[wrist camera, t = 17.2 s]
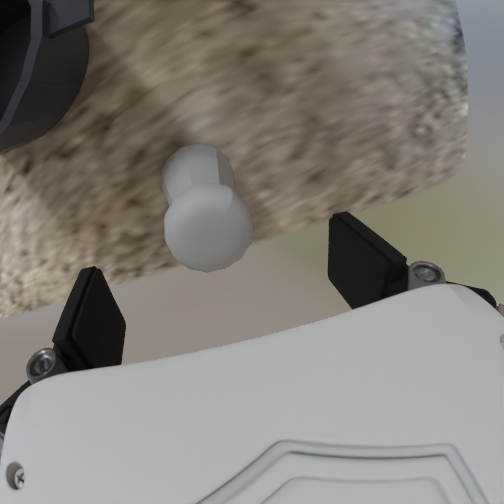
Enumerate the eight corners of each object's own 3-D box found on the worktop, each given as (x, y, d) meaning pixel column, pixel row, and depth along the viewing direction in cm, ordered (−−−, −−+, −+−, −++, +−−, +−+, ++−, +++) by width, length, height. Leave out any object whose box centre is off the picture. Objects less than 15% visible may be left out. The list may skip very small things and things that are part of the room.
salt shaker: (237, 189, 25) (287, 265, 14) (178, 214, 25) (182, 309, 14) (214, 129, 22) (250, 155, 11) (151, 156, 22) (123, 211, 11)
